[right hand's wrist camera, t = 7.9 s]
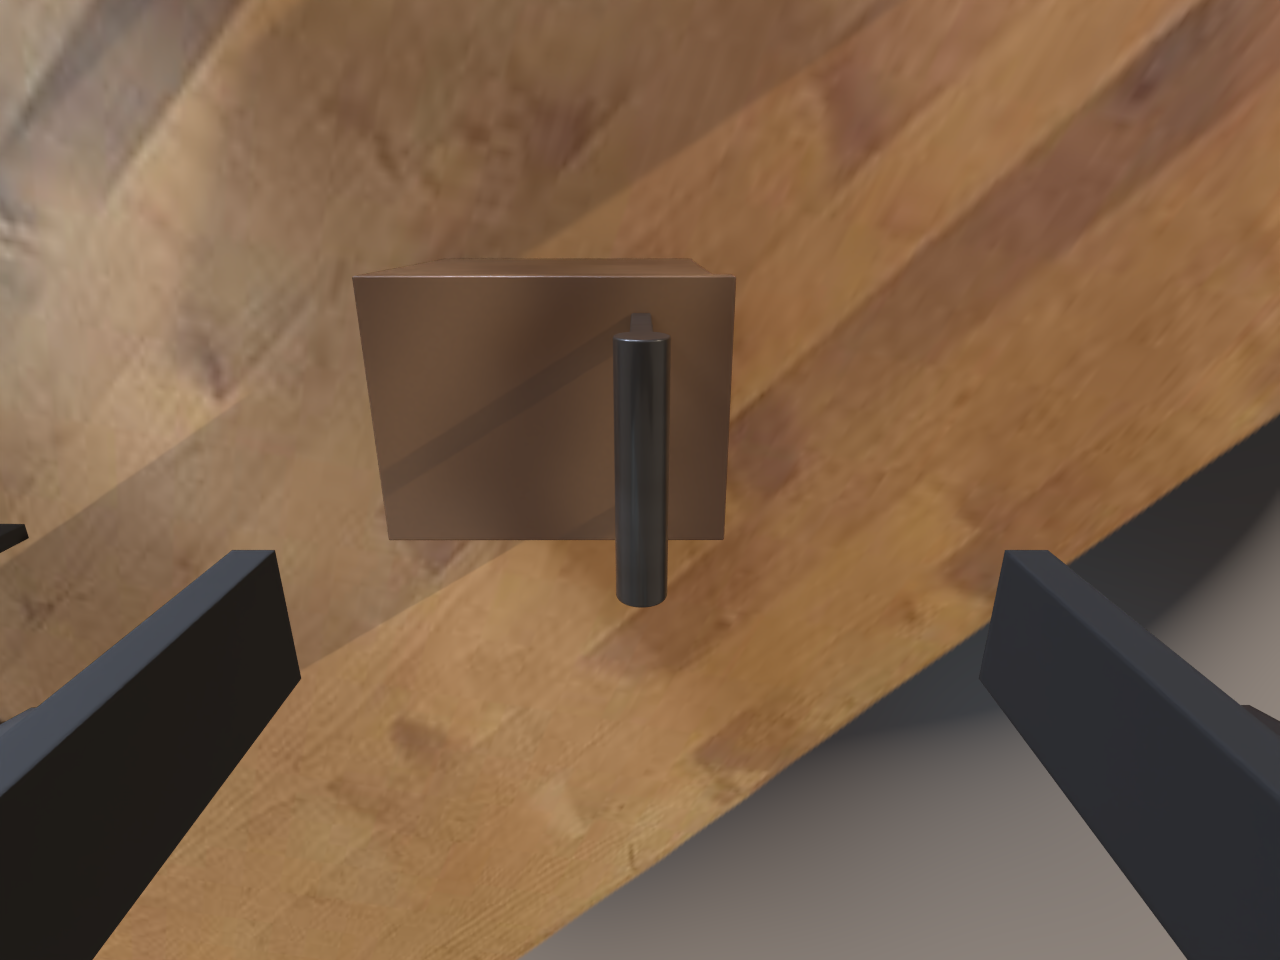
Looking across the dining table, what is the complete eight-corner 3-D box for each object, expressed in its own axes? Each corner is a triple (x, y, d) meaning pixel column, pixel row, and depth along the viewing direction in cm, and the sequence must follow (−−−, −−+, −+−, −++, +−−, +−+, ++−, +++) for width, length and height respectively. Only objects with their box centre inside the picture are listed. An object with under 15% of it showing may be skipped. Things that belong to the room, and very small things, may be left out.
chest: (691, 258, 35) (713, 273, 25) (687, 447, 38) (704, 529, 28) (444, 258, 35) (362, 274, 25) (461, 447, 38) (396, 529, 28)
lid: (732, 273, 25) (772, 296, 17) (721, 529, 28) (750, 639, 21) (362, 273, 24) (243, 296, 17) (396, 530, 28) (310, 640, 21)
